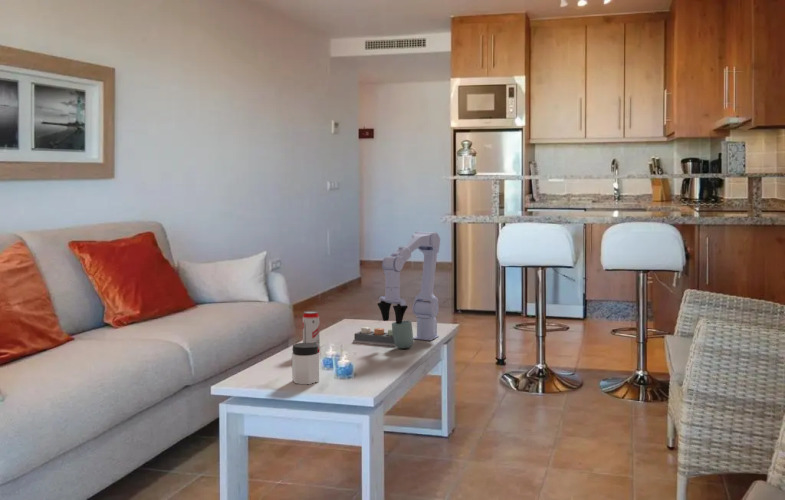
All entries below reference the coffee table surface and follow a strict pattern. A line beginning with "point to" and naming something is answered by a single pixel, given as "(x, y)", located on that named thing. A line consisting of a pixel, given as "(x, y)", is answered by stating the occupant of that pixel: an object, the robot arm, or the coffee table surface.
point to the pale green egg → (390, 332)
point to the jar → (305, 363)
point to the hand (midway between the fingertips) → (392, 322)
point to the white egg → (365, 330)
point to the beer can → (311, 328)
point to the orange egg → (378, 331)
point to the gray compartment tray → (374, 339)
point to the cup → (402, 334)
